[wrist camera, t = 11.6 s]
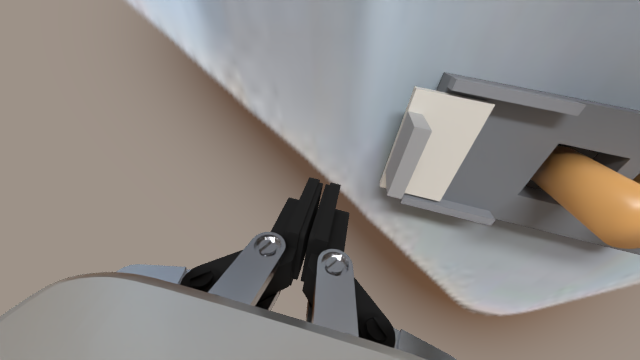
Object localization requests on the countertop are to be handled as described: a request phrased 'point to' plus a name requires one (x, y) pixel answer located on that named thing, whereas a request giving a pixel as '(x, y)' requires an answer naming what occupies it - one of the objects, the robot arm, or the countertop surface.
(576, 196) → the orange rounded capsule
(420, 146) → the lid
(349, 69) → the countertop surface
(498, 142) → the housing
